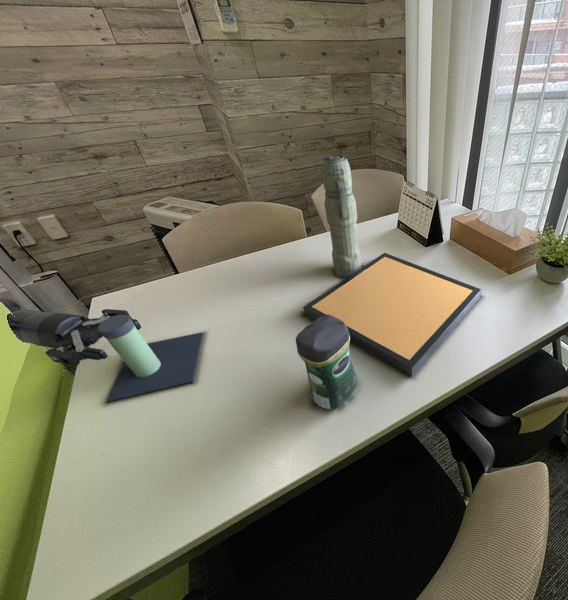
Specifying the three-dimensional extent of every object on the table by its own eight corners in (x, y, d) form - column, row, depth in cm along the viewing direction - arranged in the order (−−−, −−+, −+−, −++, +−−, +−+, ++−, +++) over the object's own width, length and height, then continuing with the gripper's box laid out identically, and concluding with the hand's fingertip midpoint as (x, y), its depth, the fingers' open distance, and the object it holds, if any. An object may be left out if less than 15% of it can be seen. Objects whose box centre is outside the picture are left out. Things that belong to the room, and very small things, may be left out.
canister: (140, 381, 70) (103, 335, 62) (130, 370, 73) (93, 324, 64) (165, 366, 74) (133, 320, 65) (155, 356, 76) (123, 311, 67)
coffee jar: (336, 368, 74) (323, 305, 62) (363, 383, 71) (355, 320, 59) (304, 398, 68) (284, 335, 56) (333, 417, 64) (317, 354, 53)
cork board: (411, 376, 72) (480, 297, 94) (412, 368, 70) (481, 289, 92) (304, 314, 88) (384, 259, 111) (302, 306, 87) (384, 252, 109)
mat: (107, 403, 67) (106, 401, 67) (131, 348, 79) (129, 347, 78) (193, 382, 71) (192, 381, 70) (203, 333, 83) (202, 332, 82)
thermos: (342, 283, 100) (325, 165, 78) (329, 265, 108) (311, 153, 86) (368, 275, 103) (359, 160, 81) (354, 258, 111) (342, 149, 89)
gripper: (7, 341, 62) (79, 352, 60) (76, 296, 73) (140, 304, 71) (35, 367, 67) (103, 377, 65) (96, 321, 78) (156, 328, 76)
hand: (122, 339), depth 68 cm, fingers open, 8 cm apart
